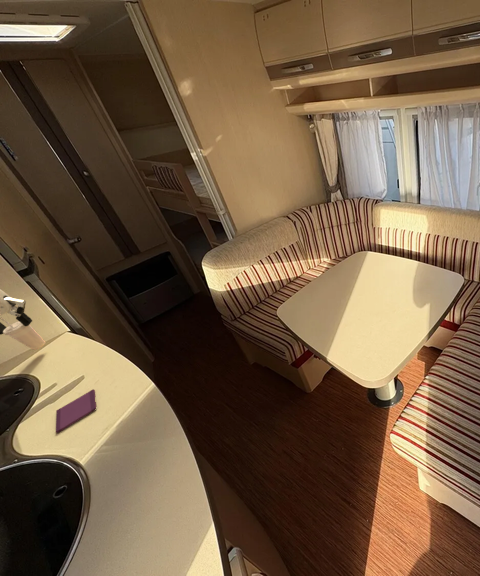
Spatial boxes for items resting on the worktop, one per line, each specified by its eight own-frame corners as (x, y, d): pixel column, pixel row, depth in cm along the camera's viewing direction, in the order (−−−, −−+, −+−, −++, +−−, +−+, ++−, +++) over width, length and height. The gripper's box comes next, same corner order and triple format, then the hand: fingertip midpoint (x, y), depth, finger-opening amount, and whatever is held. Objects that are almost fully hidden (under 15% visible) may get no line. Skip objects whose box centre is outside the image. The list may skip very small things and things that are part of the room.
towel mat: (57, 433, 81) (55, 432, 80) (58, 411, 87) (56, 410, 86) (96, 409, 85) (95, 408, 84) (94, 390, 91) (93, 389, 90)
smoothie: (24, 351, 107) (-14, 322, 99) (44, 337, 112) (10, 308, 103) (33, 354, 105) (-5, 324, 96) (54, 340, 109) (19, 311, 101)
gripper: (-82, 302, 87) (-22, 345, 98) (-9, 281, 91) (41, 324, 102) (-62, 289, 93) (-7, 330, 104) (5, 269, 97) (51, 311, 108)
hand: (16, 327), depth 103 cm, fingers closed on smoothie, 6 cm apart
